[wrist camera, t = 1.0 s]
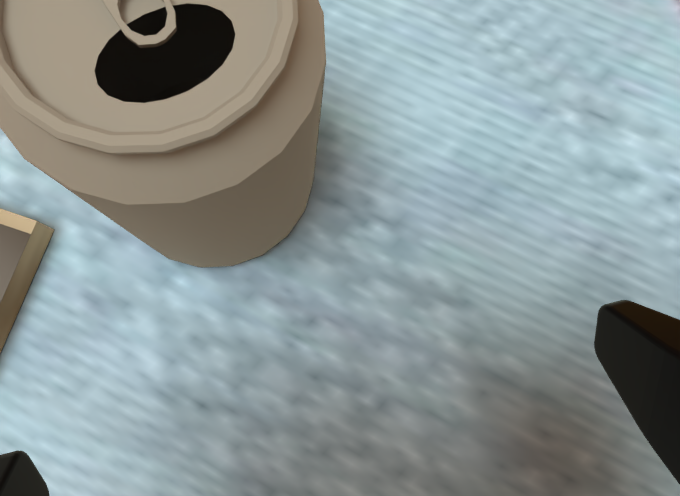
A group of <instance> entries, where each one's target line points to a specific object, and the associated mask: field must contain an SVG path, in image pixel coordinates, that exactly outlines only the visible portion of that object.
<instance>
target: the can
mask: <svg viewBox="0 0 680 496" xmlns="http://www.w3.org/2000/svg"><path fill="white" fill-rule="evenodd" d="M325 66H326V53H325V34H324V15H323V11H322V9H321V6H320V4H319V1H318V0H0V128H1V129H2V130H3V132H4V133H5V134H6V135H7V137H8V138H9V139H10V141H11V142H12V143H13V145H14V146H15V147H16V149H17V150H18V151H19V152H20V154H21V155H22V156H23V158H24V159H25V160H27V161H28V162H30V163H31V164H33V165H34V166H35V167H37V168H38V169H40V170H41V171H43V172H44V173H45V174H47V175H48V176H50V177H51V178H53V179H54V180H55V181H57V182H58V183H60V184H61V185H63V186H64V187H65V188H67V189H68V190H70V191H71V192H73V193H74V194H75V195H77V196H78V197H80V198H81V199H83V200H84V201H85V202H87V203H88V204H90V205H91V206H93V207H94V208H95V209H97V210H98V211H100V212H101V213H103V214H104V215H105V216H107V217H108V218H110V219H111V220H113V221H114V222H115V223H117V224H118V225H120V226H121V227H123V228H124V229H125V230H127V231H128V232H130V233H131V234H133V235H134V236H135V237H137V238H138V239H140V240H141V241H143V242H144V243H146V244H147V245H149V246H150V247H152V248H153V249H155V250H156V251H158V252H159V253H161V254H162V255H164V256H165V257H167V258H168V259H171V260H175V261H179V262H182V263H186V264H190V265H193V266H197V267H220V266H234V265H236V264H239V263H242V262H245V261H247V260H250V259H253V258H256V257H259V256H261V255H263V254H265V253H266V252H267V251H268V250H270V249H271V248H272V247H274V246H275V245H276V244H278V243H279V242H280V241H281V240H283V239H284V238H285V237H287V236H288V234H289V233H290V232H291V230H292V229H293V227H294V226H295V224H296V223H297V221H298V220H299V218H300V217H301V215H302V214H303V213H304V211H305V209H306V205H307V202H308V198H309V195H310V191H311V188H312V184H313V179H314V169H315V160H316V151H317V141H318V132H319V122H320V113H321V104H322V94H323V85H324V75H325Z"/></svg>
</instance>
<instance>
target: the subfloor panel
mask: <svg viewBox="0 0 680 496" xmlns="http://www.w3.org/2000/svg"><path fill="white" fill-rule="evenodd" d="M53 232H54V229H52V228H50V227H48V226H46V225H44V224H42V223H40V222H38V221H35V220H32V219H30V218H27V217H24V216H21V215H18V214H15V213H12V212H9V211H6V210H3V209H0V353H1V351H2V348H3V346H4V344H5V341H6V339H7V337H8V335H9V332H10V330H11V328H12V325H13V323H14V321H15V319H16V316H17V314H18V312H19V309H20V307H21V305H22V303H23V300H24V298H25V296H26V293H27V291H28V289H29V287H30V284H31V282H32V280H33V277H34V275H35V273H36V271H37V268H38V266H39V264H40V261H41V259H42V257H43V254H44V252H45V250H46V248H47V245H48V243H49V241H50V238H51V236H52V234H53Z"/></svg>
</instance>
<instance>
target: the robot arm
mask: <svg viewBox="0 0 680 496" xmlns="http://www.w3.org/2000/svg"><path fill="white" fill-rule="evenodd" d="M594 347H595V352H596V355H597V357H598V359H599V361H600V363H601V364H602V366H603V368H604V369H605V371H606V373H607V374H608V376H609V378H610V380H611V381H612V383H613V385H614V386H615V388H616V390H617V391H618V393H619V395H620V396H621V398H622V400H623V401H624V403H625V405H626V406H627V408H628V410H629V412H630V413H631V415H632V417H633V418H634V420H635V422H636V423H637V425H638V427H639V428H640V430H641V431H642V433H643V435H644V436H645V438H646V439H647V441H648V442H649V443H650V445H651V446H652V448H653V449H654V450H655V452H656V453H657V455H658V456H659V457H660V459H661V460H662V461H663V463H664V464H665V465H666V467H667V468H668V469H669V471H670V472H671V473H672V475H673V476H674V477H675V479H676V480H677V482H678V483H679V484H680V320H679V319H676V318H673V317H671V316H668V315H665V314H663V313H660V312H658V311H655V310H652V309H650V308H647V307H645V306H642V305H639V304H637V303H634V302H631V301H628V300H621V301H617V302H613V303H609V304H605V305H603V306H601V308H600V309H599V312H598V318H597V326H596V333H595V341H594ZM0 496H49V491H48V487H47V485H46V483H45V481H44V480H43V478H42V476H41V475H40V473H39V472H38V470H37V468H36V467H35V465H34V464H33V462H32V460H31V459H30V457H29V456H28V455H27V453H25V452H23V451H14V452H10V453H7V454H3V455H0Z"/></svg>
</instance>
